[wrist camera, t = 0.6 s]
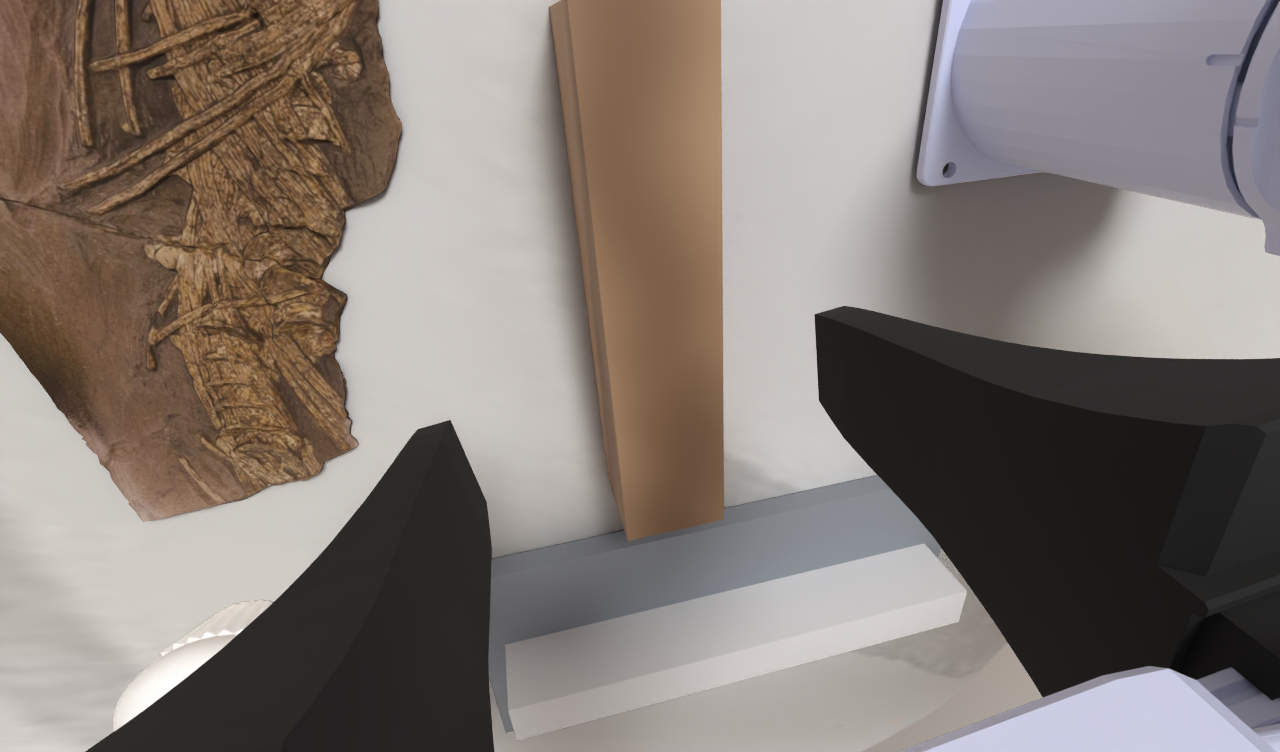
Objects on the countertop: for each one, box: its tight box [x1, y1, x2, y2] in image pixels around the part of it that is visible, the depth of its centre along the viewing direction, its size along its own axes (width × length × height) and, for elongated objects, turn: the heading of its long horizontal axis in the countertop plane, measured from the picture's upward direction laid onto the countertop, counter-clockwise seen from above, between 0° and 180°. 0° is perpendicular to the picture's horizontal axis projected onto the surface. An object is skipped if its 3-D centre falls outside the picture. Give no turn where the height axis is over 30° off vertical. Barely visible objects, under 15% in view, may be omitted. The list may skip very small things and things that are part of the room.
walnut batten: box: [549, 0, 724, 541], centre depth 19 cm, size 4×16×4 cm, turn 4°
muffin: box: [113, 600, 272, 731], centre depth 21 cm, size 6×6×7 cm
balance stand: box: [488, 475, 967, 741], centre depth 27 cm, size 22×10×4 cm, turn 94°
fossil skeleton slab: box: [0, 0, 402, 522], centre depth 15 cm, size 26×11×1 cm, turn 162°
